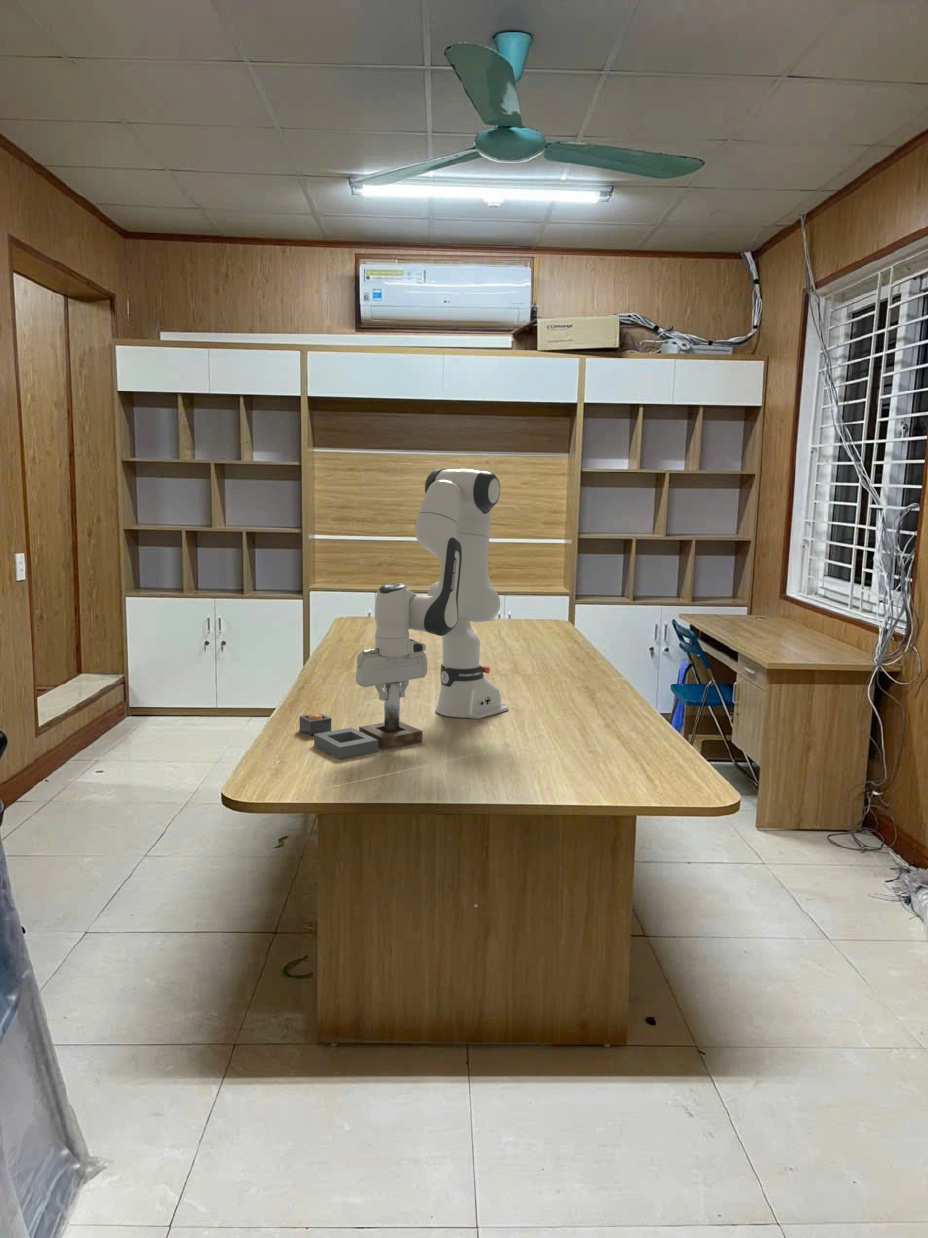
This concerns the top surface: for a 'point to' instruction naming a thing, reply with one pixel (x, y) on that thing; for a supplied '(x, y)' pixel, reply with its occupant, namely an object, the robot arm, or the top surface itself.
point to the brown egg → (315, 716)
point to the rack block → (345, 743)
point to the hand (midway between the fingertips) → (392, 698)
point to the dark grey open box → (315, 725)
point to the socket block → (393, 735)
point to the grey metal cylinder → (392, 705)
